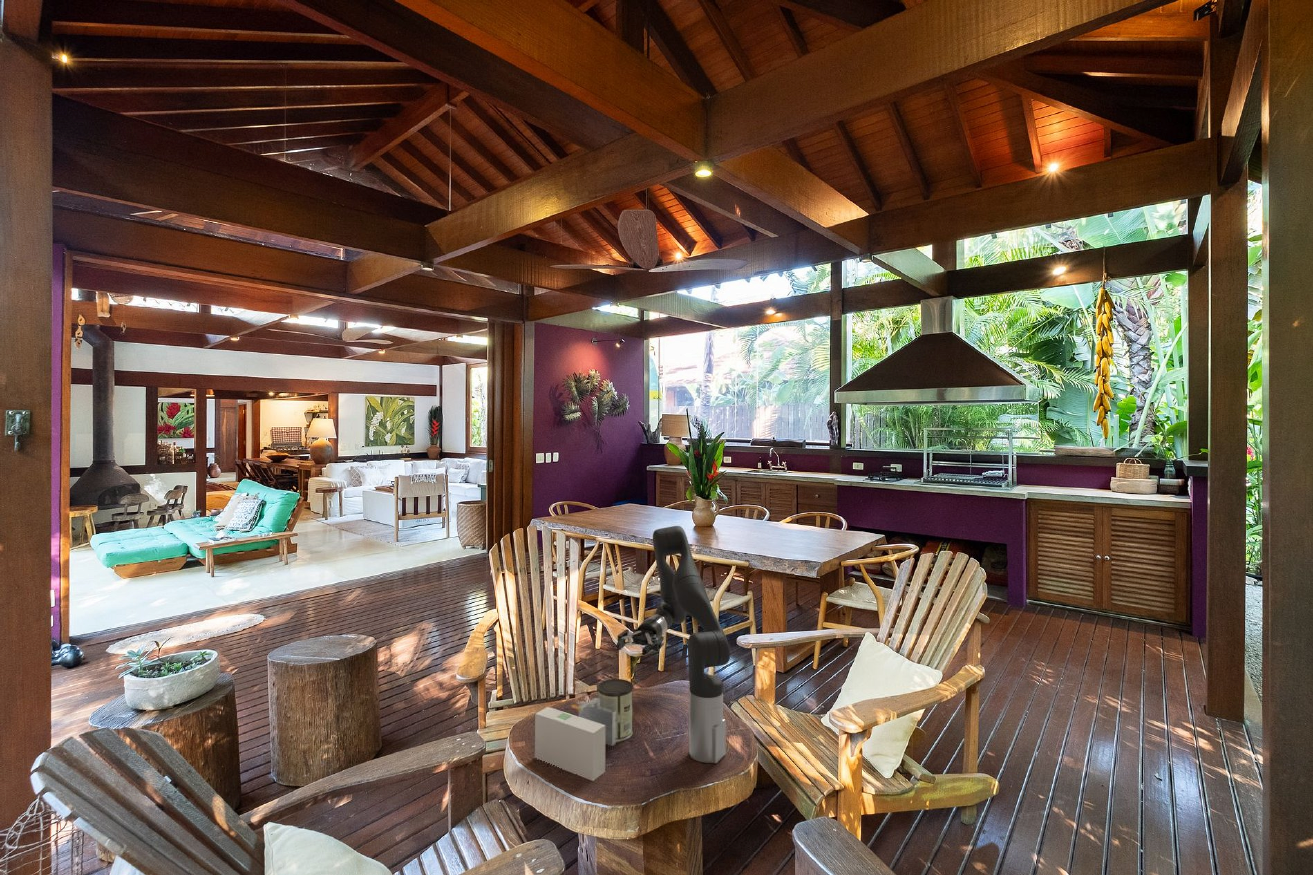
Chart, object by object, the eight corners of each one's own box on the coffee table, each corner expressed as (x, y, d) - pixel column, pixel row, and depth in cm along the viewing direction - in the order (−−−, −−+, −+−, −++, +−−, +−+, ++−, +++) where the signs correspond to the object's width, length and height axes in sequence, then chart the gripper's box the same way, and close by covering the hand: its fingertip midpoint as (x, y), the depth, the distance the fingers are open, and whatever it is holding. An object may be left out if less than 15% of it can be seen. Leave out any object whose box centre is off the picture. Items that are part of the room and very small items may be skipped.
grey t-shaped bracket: (615, 743, 163) (615, 702, 163) (597, 756, 156) (598, 713, 157) (581, 732, 169) (582, 692, 170) (563, 743, 163) (563, 702, 163)
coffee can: (604, 723, 179) (605, 676, 180) (637, 728, 177) (637, 680, 177) (592, 739, 169) (592, 690, 170) (626, 744, 167) (626, 694, 167)
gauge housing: (605, 771, 153) (605, 724, 153) (593, 781, 148) (593, 732, 148) (547, 750, 163) (548, 706, 163) (534, 758, 159) (535, 713, 159)
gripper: (633, 615, 197) (610, 634, 183) (672, 622, 192) (651, 642, 177) (633, 636, 198) (610, 657, 183) (672, 644, 192) (651, 666, 178)
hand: (630, 649), depth 180 cm, fingers open, 8 cm apart
